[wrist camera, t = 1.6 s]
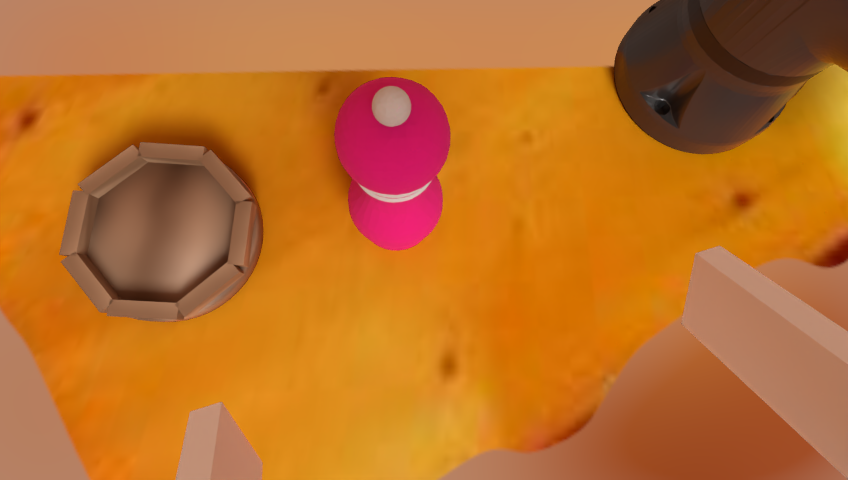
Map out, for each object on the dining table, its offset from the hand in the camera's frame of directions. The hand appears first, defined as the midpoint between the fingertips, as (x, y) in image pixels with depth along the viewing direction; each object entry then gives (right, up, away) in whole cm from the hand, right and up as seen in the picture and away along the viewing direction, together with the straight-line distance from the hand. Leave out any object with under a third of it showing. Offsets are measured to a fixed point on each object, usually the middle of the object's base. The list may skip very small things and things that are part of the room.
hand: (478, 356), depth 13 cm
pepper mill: (-4, +5, +27) cm, 28 cm away
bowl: (-22, +4, +26) cm, 34 cm away
